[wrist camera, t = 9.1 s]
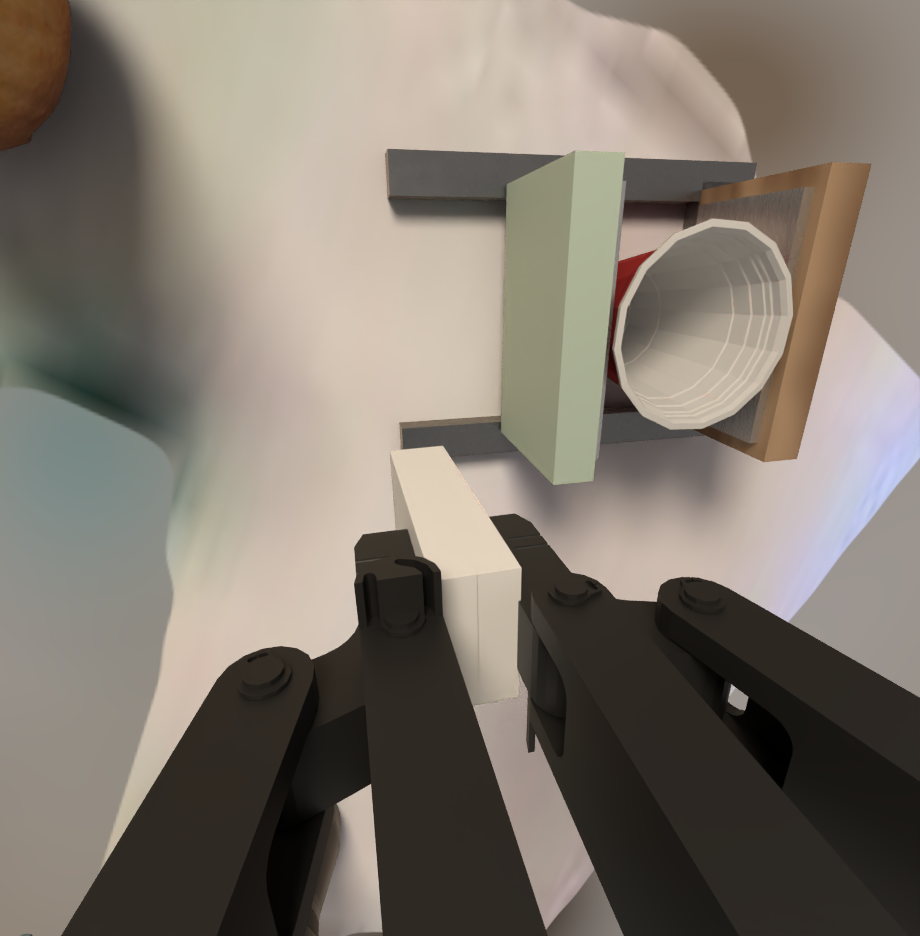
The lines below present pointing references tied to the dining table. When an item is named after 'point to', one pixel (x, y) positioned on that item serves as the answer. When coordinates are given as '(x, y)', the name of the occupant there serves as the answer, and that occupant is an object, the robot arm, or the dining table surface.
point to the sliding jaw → (560, 309)
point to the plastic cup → (700, 323)
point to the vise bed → (707, 196)
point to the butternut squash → (31, 65)
